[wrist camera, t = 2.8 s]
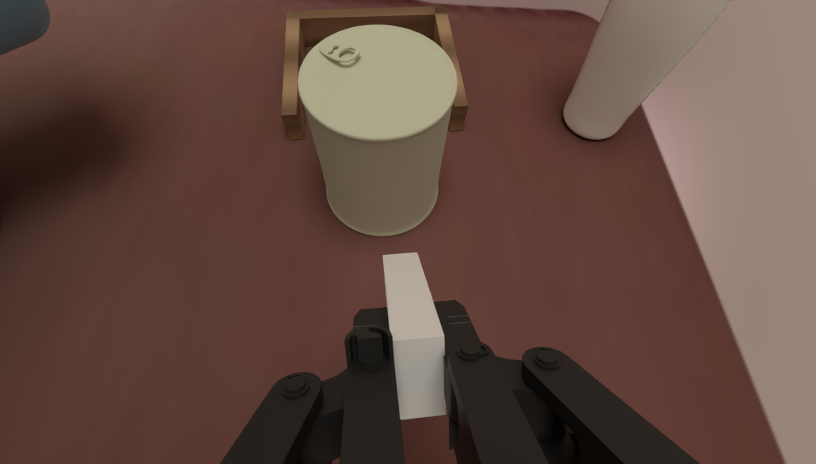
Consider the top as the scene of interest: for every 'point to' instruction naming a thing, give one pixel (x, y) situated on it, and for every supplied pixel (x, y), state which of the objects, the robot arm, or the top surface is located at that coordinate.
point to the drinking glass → (633, 59)
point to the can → (379, 123)
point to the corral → (324, 23)
